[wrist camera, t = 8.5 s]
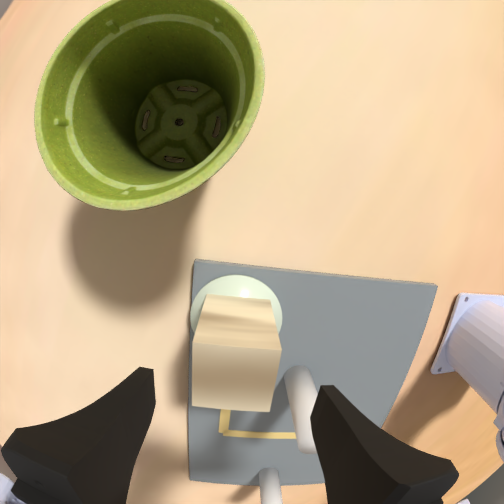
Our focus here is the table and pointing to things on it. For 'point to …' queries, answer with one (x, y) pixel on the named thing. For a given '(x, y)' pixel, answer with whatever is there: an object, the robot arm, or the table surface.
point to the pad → (235, 294)
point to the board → (334, 351)
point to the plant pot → (147, 100)
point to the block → (235, 354)
